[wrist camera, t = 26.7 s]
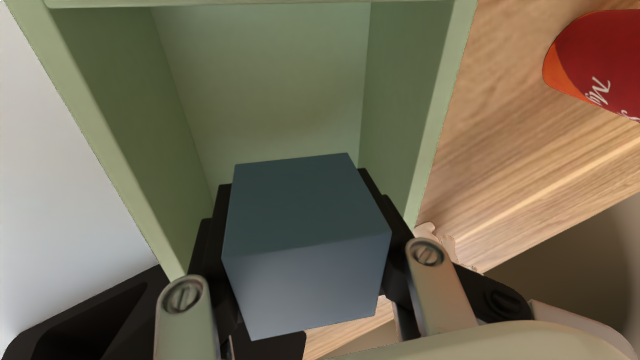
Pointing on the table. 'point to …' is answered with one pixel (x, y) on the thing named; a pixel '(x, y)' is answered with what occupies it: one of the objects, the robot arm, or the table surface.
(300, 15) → the chest
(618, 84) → the paper cup
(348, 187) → the block
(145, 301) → the device stand
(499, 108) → the table surface
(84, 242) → the table surface
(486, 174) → the table surface
